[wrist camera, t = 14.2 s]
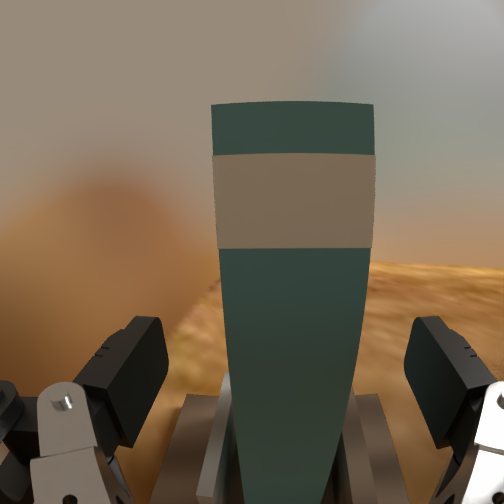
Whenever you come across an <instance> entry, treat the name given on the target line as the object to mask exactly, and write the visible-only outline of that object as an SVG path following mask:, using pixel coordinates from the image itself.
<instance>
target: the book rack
mask: <svg viewBox="0 0 504 504" xmlns="http://www.w3.org/2000/svg"><path fill="white" fill-rule="evenodd" d="M149 504H245V502H244V495H243V487H242V480H241V472H240V464H239V456H238V448H237V440H236V432H235V423H234V414H233V405H232V396H231V386H230V377H229V372H225V375H224V379H223V383H222V387H221V392H220V396H205V395H193V394H187V395H186V398H185V401H184V404H183V407H182V409H181V412H180V415H179V418H178V421H177V423H176V426H175V429H174V432H173V435H172V438H171V440H170V443H169V446H168V449H167V452H166V455H165V457H164V460H163V463H162V466H161V469H160V472H159V475H158V478H157V480H156V483H155V486H154V489H153V492H152V495H151V498H150V501H149ZM320 504H409V500H408V496H407V492H406V488H405V484H404V480H403V476H402V473H401V469H400V466H399V462H398V458H397V455H396V451H395V448H394V445H393V441H392V438H391V435H390V431H389V428H388V425H387V422H386V418H385V415H384V412H383V409H382V406H381V403H380V400H379V397H378V394H368V395H356V396H354V392H353V388H352V386H351V391H350V396H349V401H348V405H347V410H346V414H345V418H344V423H343V427H342V431H341V435H340V439H339V442H338V446H337V450H336V454H335V457H334V461H333V464H332V468H331V471H330V475H329V478H328V481H327V484H326V488H325V491H324V494H323V497H322V500H321V503H320Z"/></svg>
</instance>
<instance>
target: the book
mask: <svg viewBox="0 0 504 504" xmlns="http://www.w3.org/2000/svg"><path fill="white" fill-rule="evenodd" d="M373 110H374V109H373V105H371V104H358V103H343V102H316V101H275V102H274V101H273V102H247V103H230V104H217V105H211V113H212V139H213V156H212V159H213V160H212V161H213V179H214V180H213V181H214V198H215V214H216V230H217V246H218V249H219V261H220V275H221V288H222V300H223V312H224V324H225V335H226V346H227V356H228V367H229V377H230V386H231V396H232V405H233V414H234V423H235V432H236V440H237V448H238V456H239V464H240V472H241V480H242V487H243V495H244V502H245V504H320V503H321V500H322V497H323V494H324V491H325V488H326V484H327V481H328V478H329V475H330V471H331V468H332V464H333V461H334V457H335V454H336V450H337V446H338V442H339V439H340V435H341V431H342V427H343V423H344V418H345V414H346V410H347V405H348V401H349V396H350V391H351V386H352V381H353V376H354V371H355V366H356V360H357V354H358V349H359V342H360V336H361V330H362V323H363V316H364V308H365V301H366V292H367V283H368V274H369V264H370V251H371V248H372V238H373V223H374V202H375V152H374V112H373Z"/></svg>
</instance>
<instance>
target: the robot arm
mask: <svg viewBox="0 0 504 504" xmlns="http://www.w3.org/2000/svg"><path fill="white" fill-rule="evenodd" d="M168 366H169V359H168V353H167V348H166V343H165V338H164V334H163V328H162V323H161V320H160V319H159V318H158V317H147V316H135V317H134V318H133V320H131V322H130V323H129V324H128V325H127V327H126V328H125V329H124V330H123V329H121V330H119V331H117V332H116V333H114V334H113V335H111V336H110V337H108V338H107V340H106V341H105V342H104V343H103V344H102V346H101V348H99V350H98V351H97V352H96V353H95V356H93V357H92V358H91V359H90V360H89V362H88V363H87V364H86V365H85V366H84V368H83V369H82V370H81V372H80V373H79V374H78V375H77V377H76V378H75V379H74V380H73V382H61V383H56V384H53V385H51V386H49V387H48V388H46V389H45V390H44V391H43V392H42V393H41V394H40V396H39V397H21V396H19V394H18V392H17V390H16V388H15V386H14V385H13V384H12V383H11V382H8V381H3V380H2V381H0V443H1V442H2V441H3V442H4V444H5V445H6V446H7V448H8V449H9V450H10V451H9V453H8V454H7V456H6V458H5V459H4V461H3V462H2V464H1V465H0V504H33V503H34V501H35V504H135V501H134V499H133V497H132V495H131V492H130V490H129V488H128V485H127V483H126V480H125V478H124V475H123V473H122V470H121V467H120V465H119V462H118V459H117V457H116V455H115V453H114V452H115V450H116V448H117V446H118V445H120V446H124V447H128V448H133V446H134V443H135V441H136V439H137V437H138V435H139V433H140V431H141V428H142V426H143V424H144V422H145V420H146V418H147V416H148V413H149V411H150V409H151V407H152V405H153V403H154V401H155V399H156V396H157V394H158V392H159V390H160V388H161V386H162V384H163V382H164V380H165V378H166V375H167V372H168ZM404 371H405V375H406V378H407V380H408V382H409V384H410V387H411V389H412V391H413V393H414V396H415V398H416V400H417V402H418V405H419V407H420V409H421V412H422V414H423V416H424V419H425V421H426V423H427V426H428V428H429V431H430V433H431V436H432V438H433V441H434V443H435V446H436V448H437V449H441V448H445V447H448V446H451V447H452V449H453V452H452V453H451V455H450V457H449V459H448V461H447V464H446V466H445V469H444V471H443V474H442V476H441V478H440V481H439V483H438V485H437V487H436V490H435V492H434V494H433V496H432V498H431V500H430V502H429V504H504V381H501V382H497V380H496V379H495V378H494V376H493V375H492V373H491V372H490V371H489V369H488V368H487V367H486V365H485V364H484V363H483V361H482V360H481V359H480V358H479V356H478V357H477V354H476V352H475V351H474V350H473V349H471V346H470V345H469V344H468V342H467V341H466V340H465V339H464V337H462V336H461V335H459V334H458V333H456V332H455V331H453V330H452V329H451V330H450V329H449V328H448V327H447V326H446V324H445V323H444V322H443V321H442V319H441V318H440V317H439V316H428V317H417V318H416V319H415V320H414V322H413V325H412V330H411V334H410V338H409V342H408V346H407V350H406V354H405V358H404Z"/></svg>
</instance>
